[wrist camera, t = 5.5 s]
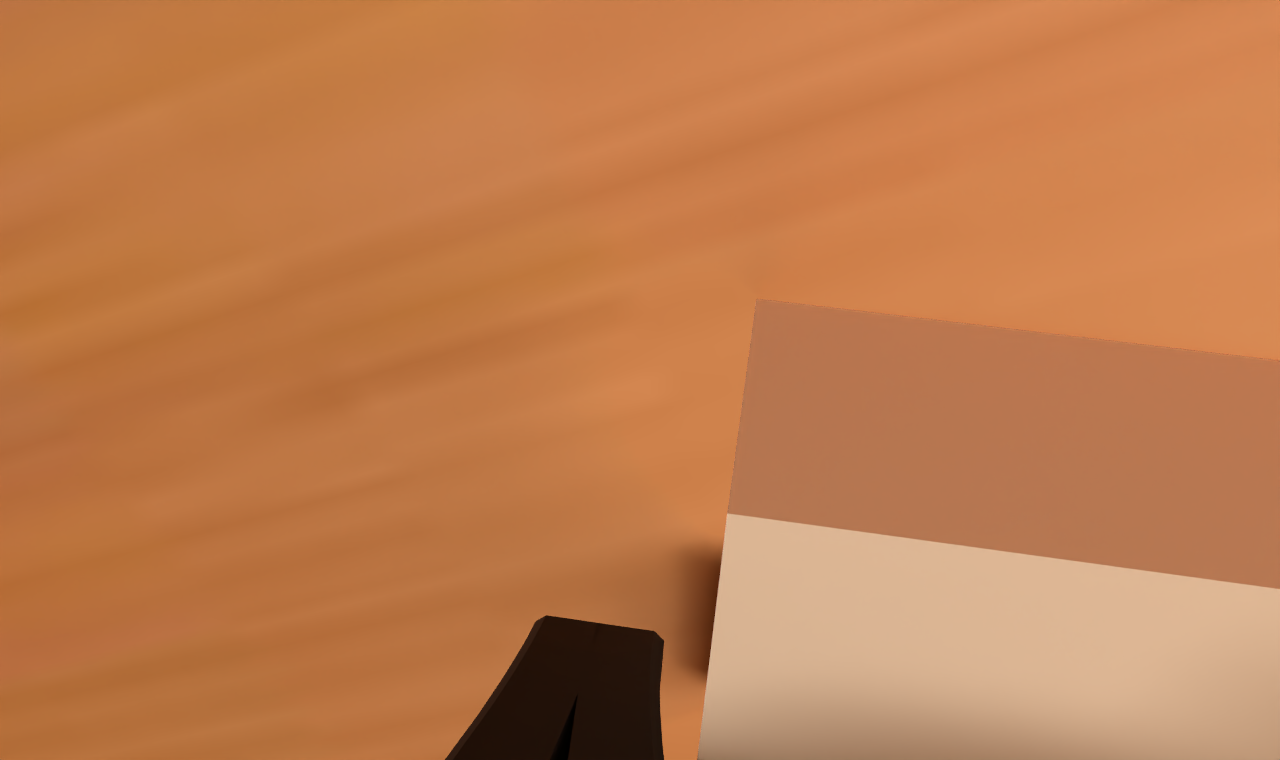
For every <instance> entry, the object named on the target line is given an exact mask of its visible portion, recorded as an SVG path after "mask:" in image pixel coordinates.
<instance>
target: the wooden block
mask: <svg viewBox="0 0 1280 760" xmlns="http://www.w3.org/2000/svg"><path fill="white" fill-rule="evenodd" d="M697 760H1280V361H1279V360H1271V359H1262V358H1254V357H1245V356H1237V355H1228V354H1220V353H1212V352H1203V351H1195V350H1186V349H1178V348H1169V347H1161V346H1152V345H1144V344H1135V343H1127V342H1119V341H1110V340H1102V339H1093V338H1085V337H1076V336H1068V335H1059V334H1051V333H1042V332H1034V331H1026V330H1017V329H1009V328H1000V327H992V326H983V325H975V324H966V323H958V322H949V321H941V320H933V319H924V318H916V317H907V316H899V315H890V314H882V313H873V312H865V311H856V310H848V309H840V308H831V307H823V306H814V305H806V304H797V303H789V302H780V301H772V300H763V299H756V306H755V313H754V321H753V328H752V335H751V343H750V350H749V357H748V365H747V372H746V380H745V387H744V394H743V402H742V409H741V417H740V424H739V431H738V439H737V446H736V453H735V461H734V468H733V476H732V483H731V490H730V498H729V505H728V512H727V521H726V529H725V537H724V545H723V553H722V562H721V570H720V578H719V586H718V595H717V603H716V611H715V619H714V627H713V636H712V644H711V652H710V660H709V668H708V677H707V685H706V693H705V701H704V710H703V718H702V726H701V734H700V742H699V751H698V759H697Z"/></svg>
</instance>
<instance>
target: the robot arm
mask: <svg viewBox="0 0 1280 760" xmlns="http://www.w3.org/2000/svg"><path fill="white" fill-rule="evenodd" d="M663 647H664V640H663V639H662V638H661V637H660V636H659V635H658V634H657V633H656V632H655V631H649V630H642V629H635V628H628V627H621V626H615V625H608V624H601V623H594V622H587V621H581V620H574V619H567V618H560V617H553V616H547V615H546V616H544V617H543V618H541V619H539V620H537V621H536V622H535V624H534V626H533V628H532V629H531V631H530V633H529V635H528V637H527V639H526V641H525V642H524V644H523V646H522V648H521V649H520V651H519V653H518V654H517V656H516V658H515V659H514V661H513V663H512V664H511V666H510V667H509V669H508V671H507V672H506V674H505V675H504V677H503V678H502V680H501V682H500V683H499V685H498V686H497V688H496V689H495V691H494V692H493V694H492V695H491V696H490V698H489V699H488V701H487V702H486V704H485V705H484V707H483V708H482V710H481V711H480V713H479V714H478V716H477V717H476V718H475V720H474V721H473V722H472V724H471V725H470V727H469V728H468V729H467V731H466V732H465V733H464V735H463V736H462V737H461V739H460V740H459V741H458V743H457V744H456V745H455V747H454V748H453V750H452V751H451V752H450V754H449V755H448V756H447V758H446V759H445V760H664V755H663V746H662V732H661V717H660V681H661V670H662V659H663Z"/></svg>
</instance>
